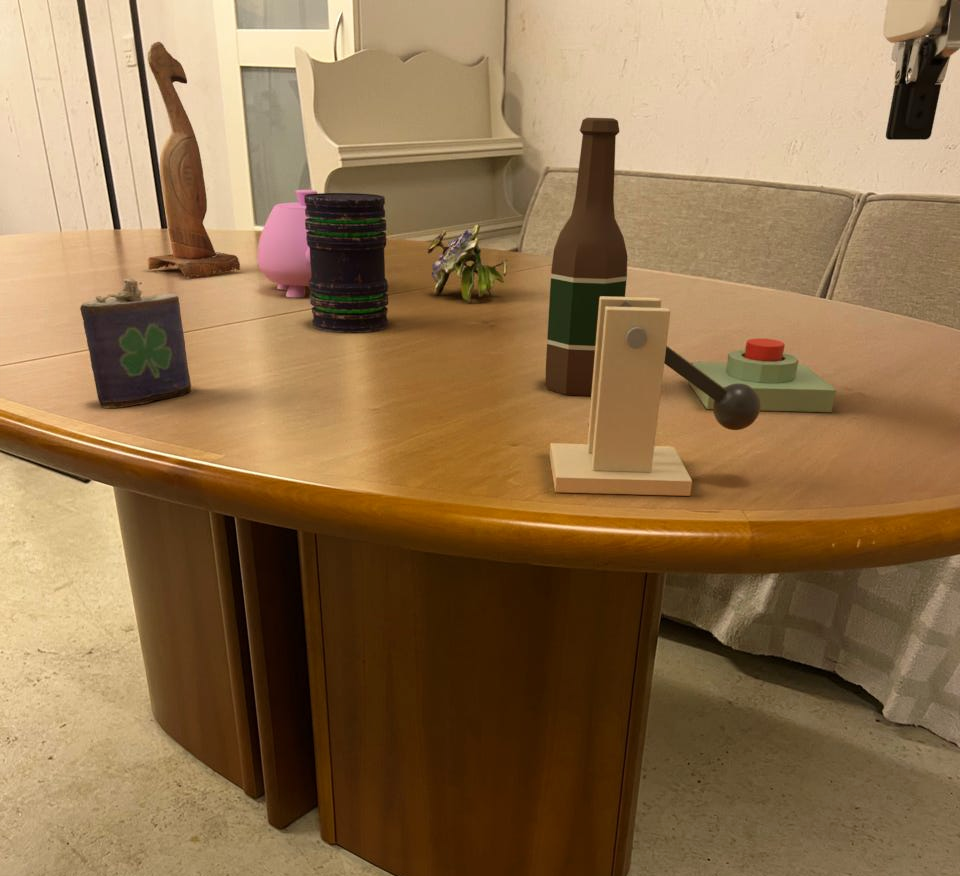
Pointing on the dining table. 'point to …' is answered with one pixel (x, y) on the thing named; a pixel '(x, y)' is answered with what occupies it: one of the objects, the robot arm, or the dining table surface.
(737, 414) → the lever
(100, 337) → the flask
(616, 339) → the bracket
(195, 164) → the bird sculpture
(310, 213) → the storage jar
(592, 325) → the beer bottle
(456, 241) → the passion flower
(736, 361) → the button box
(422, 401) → the dining table surface
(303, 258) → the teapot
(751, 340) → the button
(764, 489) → the dining table surface
